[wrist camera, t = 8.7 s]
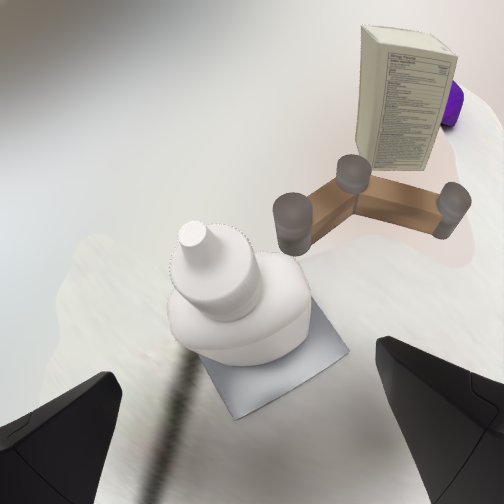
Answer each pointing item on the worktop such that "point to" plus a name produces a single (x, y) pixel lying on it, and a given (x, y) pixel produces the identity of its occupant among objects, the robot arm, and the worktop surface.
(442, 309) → the worktop surface
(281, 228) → the rail
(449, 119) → the purple faceted pebble
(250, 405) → the coaster
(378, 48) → the skincare box
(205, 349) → the eye dropper bottle
